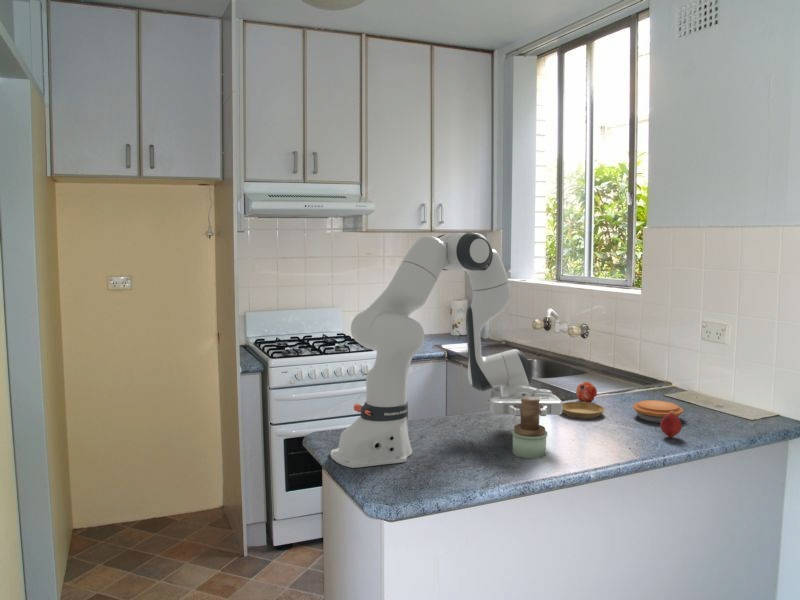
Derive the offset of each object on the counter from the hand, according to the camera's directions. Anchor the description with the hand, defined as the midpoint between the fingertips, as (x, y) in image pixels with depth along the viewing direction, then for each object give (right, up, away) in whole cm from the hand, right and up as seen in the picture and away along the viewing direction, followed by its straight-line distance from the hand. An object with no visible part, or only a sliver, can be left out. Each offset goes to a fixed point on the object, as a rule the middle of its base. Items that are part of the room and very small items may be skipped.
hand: (530, 413), depth 184 cm
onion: (+45, -10, +16) cm, 49 cm away
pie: (+49, -8, +37) cm, 62 cm away
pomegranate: (+31, -6, +58) cm, 66 cm away
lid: (0, -5, +1) cm, 6 cm away
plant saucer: (+25, -8, +42) cm, 50 cm away
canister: (0, -11, +2) cm, 12 cm away
